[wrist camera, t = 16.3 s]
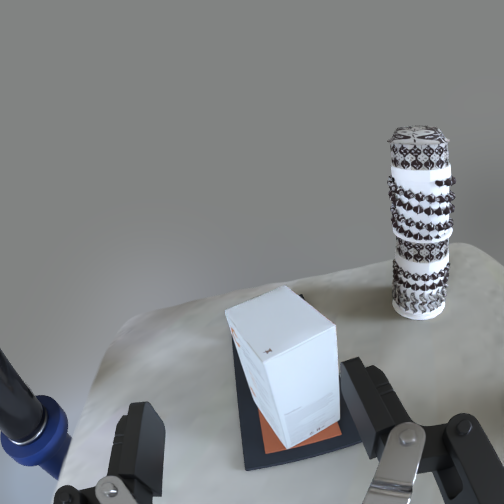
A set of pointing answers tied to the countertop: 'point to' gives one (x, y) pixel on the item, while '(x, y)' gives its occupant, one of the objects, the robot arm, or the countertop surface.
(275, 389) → the small box
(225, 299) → the countertop surface
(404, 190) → the decorative candle
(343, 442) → the word mat
